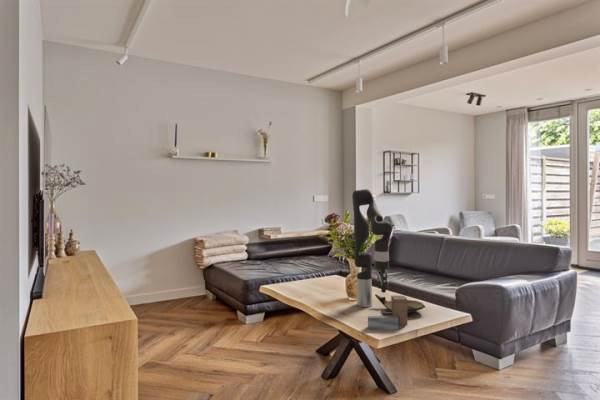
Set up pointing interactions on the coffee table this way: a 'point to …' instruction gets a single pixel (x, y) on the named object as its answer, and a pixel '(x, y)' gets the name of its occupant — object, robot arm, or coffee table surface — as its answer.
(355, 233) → the robot arm
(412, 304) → the cracked wood slice
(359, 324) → the coffee table surface
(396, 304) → the dark u-channel
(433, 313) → the coffee table surface
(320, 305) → the coffee table surface
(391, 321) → the gray rectangular block
